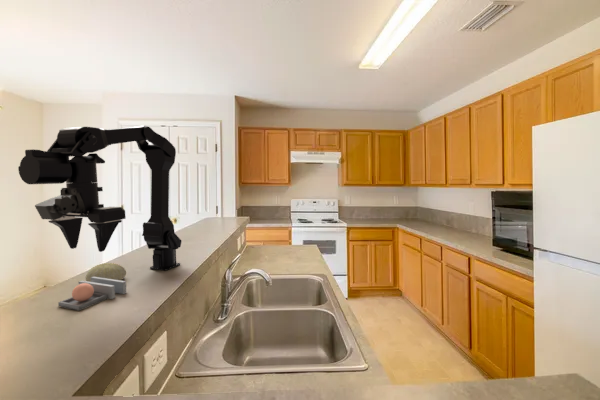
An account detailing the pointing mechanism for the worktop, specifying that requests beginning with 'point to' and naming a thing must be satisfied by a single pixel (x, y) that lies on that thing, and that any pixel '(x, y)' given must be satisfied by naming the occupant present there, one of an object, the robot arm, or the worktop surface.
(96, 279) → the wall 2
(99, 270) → the sea urchin shell
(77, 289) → the ball
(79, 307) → the coaster
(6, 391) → the worktop surface
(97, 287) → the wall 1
